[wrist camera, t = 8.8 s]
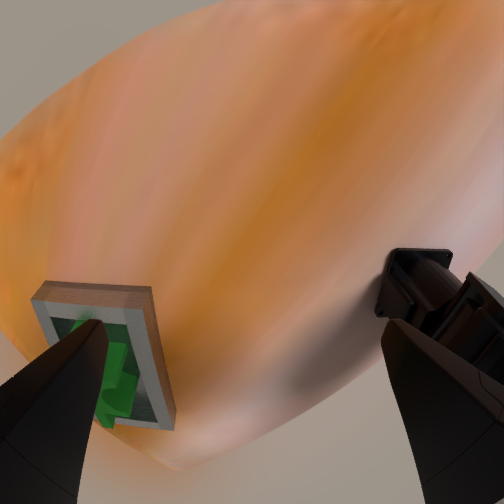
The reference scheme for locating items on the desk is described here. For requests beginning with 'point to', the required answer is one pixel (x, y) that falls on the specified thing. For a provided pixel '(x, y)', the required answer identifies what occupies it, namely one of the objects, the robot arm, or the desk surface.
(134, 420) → the gray rectangular tray
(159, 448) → the desk surface
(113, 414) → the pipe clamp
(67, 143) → the desk surface
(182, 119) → the desk surface
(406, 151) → the desk surface
